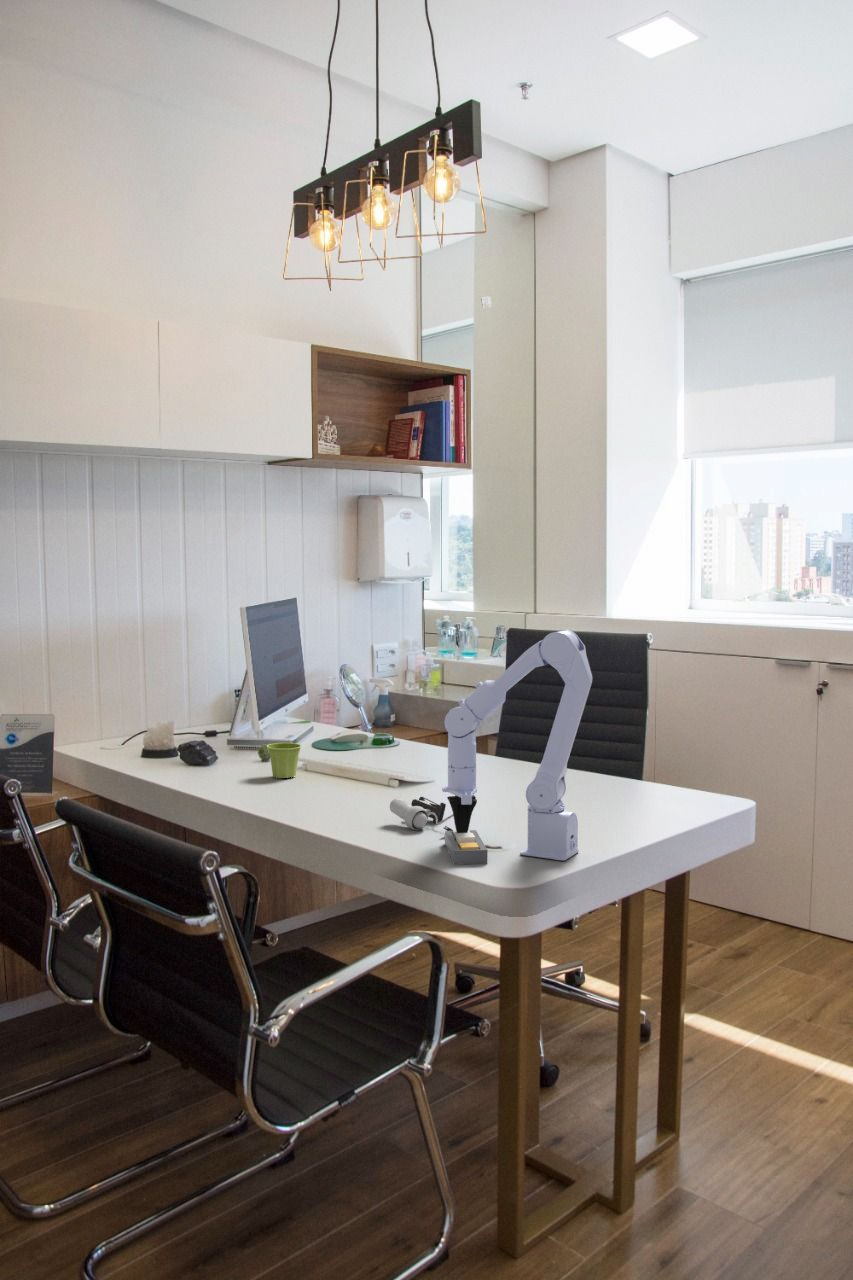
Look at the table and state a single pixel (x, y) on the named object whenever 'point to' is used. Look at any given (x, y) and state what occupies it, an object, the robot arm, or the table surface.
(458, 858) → the keypad
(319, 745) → the table surface
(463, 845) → the amber key
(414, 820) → the clip-on lamp
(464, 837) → the middle key
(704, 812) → the table surface
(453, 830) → the sage key
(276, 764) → the plant pot
